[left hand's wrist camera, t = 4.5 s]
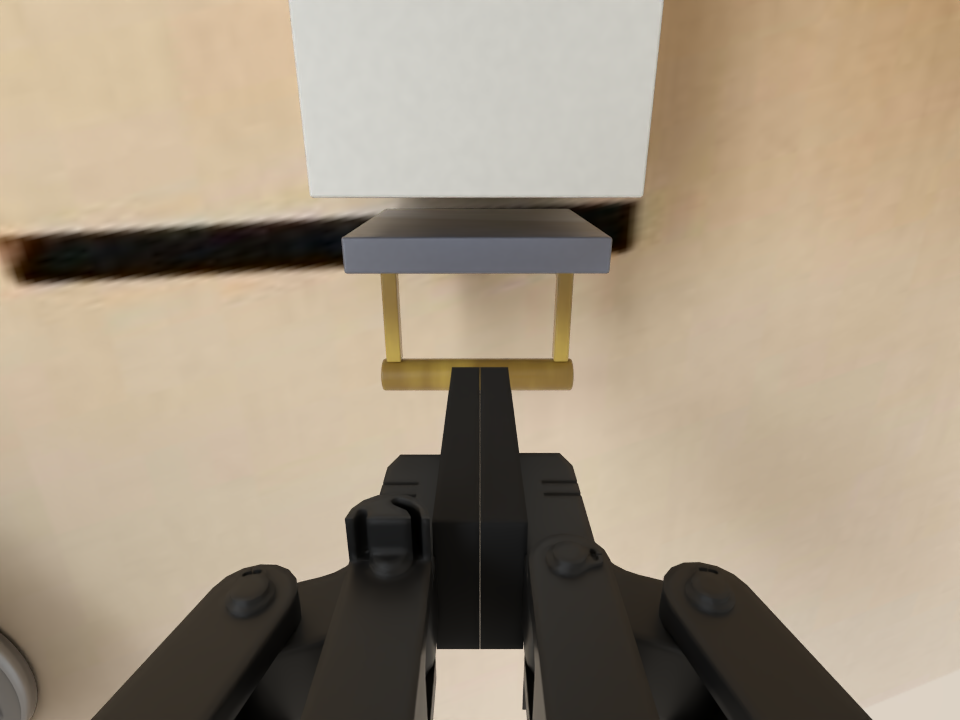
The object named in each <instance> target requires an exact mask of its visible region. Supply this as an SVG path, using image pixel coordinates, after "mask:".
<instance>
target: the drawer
mask: <svg viewBox="0 0 960 720" xmlns="http://www.w3.org/2000/svg"><path fill="white" fill-rule="evenodd" d="M611 248H612V238H611V237H610V236H608V235H607V234H605V233H604V232H602V231H601V230H599V229H598V228H596V227H595V226H593V225H592V224H590V223H589V222H587V221H586V220H584V219H583V218H581V217H580V216H579V215H577V214H576V213H574V212H573V211H571V210H570V209H385V210H384V211H382V212H381V213H379V214H378V215H376V216H375V217H373V218H372V219H370V220H369V221H367V222H366V223H364V224H362V225H361V226H359V227H358V228H356V229H355V230H353V231H352V232H350V233H349V234H347V235H346V236H344V237H343V238H342V250H343V261H344V271H345V273H347V274H381V286H382V301H383V316H384V330H385V345H386V359H384V360H383V363H382V369H381V380H382V387H383V389H384V390H449V386H450V378H451V370H452V367H508V370H509V378H510V386H511V390H571V389H572V386H573V363H572V360H571V359H569V358H568V355H569V339H570V323H571V308H572V292H573V276H574V273H609V270H610V259H611ZM468 273H557V275H556V294H555V313H554V332H553V352H552V357H553V358H552V359H402V357H403V354H402V336H401V318H400V301H399V283H398V274H468Z"/></svg>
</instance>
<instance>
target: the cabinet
mask: <svg viewBox="0 0 960 720" xmlns="http://www.w3.org/2000/svg"><path fill="white" fill-rule="evenodd" d="M663 4H664V0H289V9H290V18H291V27H292V36H293V45H294V55H295V64H296V73H297V82H298V91H299V100H300V109H301V118H302V127H303V136H304V145H305V155H306V164H307V173H308V182H309V191H310V196H311V197H313V198H640V197H642V196H643V194H644V184H645V175H646V165H647V156H648V146H649V137H650V127H651V118H652V108H653V99H654V90H655V80H656V71H657V61H658V52H659V42H660V33H661V23H662V14H663Z"/></svg>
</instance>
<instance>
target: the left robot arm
mask: <svg viewBox="0 0 960 720" xmlns="http://www.w3.org/2000/svg"><path fill="white" fill-rule="evenodd" d="M345 524H346V533H347V542H348V551H349V560H350V561H349V564H348V565H347V566H346V567H344V568H342V569H340V570H339V571H337V572H335V573H332V574H329V575H326V576H323V577H319V578H315V579H311V580H307V581H303V582H299V583H297V580H296V578H295V576H294V575H293V574H292V573H291V572H290V570H288V569H286V568H283V567H281V566H278V565H263V564H261V565H256V566H252V567H248V568H243V569H241V570H239V571H237V572H235V573H233V574H231V575H229V576H227V577H226V578H224V579H223V580H222V581H221V582H220V583H218V584H217V585H216V586H215V587H213V588H212V589H211V591H210V592H209V593H208V594H207V595H206V596H205V597H204V598H203V599H202V600H201V601H200V602H199V604H198V605H197V606H196V607H195V608H194V609H193V610H192V611H191V612H190V613H189V614H188V615H187V617H186V618H185V619H184V620H183V621H182V622H181V623H180V624H179V625H178V626H177V627H176V628H175V629H174V631H173V632H172V633H171V634H170V635H169V636H168V637H167V638H166V639H165V640H164V641H163V642H162V644H161V645H160V646H159V647H158V648H157V649H156V650H155V651H154V652H153V653H152V654H151V655H150V657H149V658H148V659H147V660H146V661H145V662H144V663H143V664H142V665H141V666H140V667H139V668H138V669H137V671H136V672H135V673H134V674H133V675H132V676H131V677H130V678H129V679H128V680H127V681H126V682H125V684H124V685H123V686H122V687H121V688H120V689H119V690H118V691H117V692H116V693H115V694H114V695H113V697H112V698H111V699H110V700H109V701H108V702H107V703H106V704H105V705H104V706H103V707H102V708H101V709H100V711H99V712H98V713H97V714H96V715H95V716H94V717H93V718H92V719H91V720H433V713H434V700H435V687H436V660H435V654H436V643H437V649H523V640H524V652H525V660H524V684H523V709H522V710H526V712H527V720H872V719H871V718H870V717H869V716H868V714H867V713H866V712H865V711H864V710H863V709H862V708H861V707H860V706H859V705H858V704H857V703H856V702H855V701H854V699H853V698H852V697H851V696H850V695H849V694H848V693H847V692H846V691H845V690H844V689H843V688H842V687H841V685H840V684H839V683H838V682H837V681H836V680H835V679H834V678H833V677H832V676H831V675H830V674H829V673H828V672H827V670H826V669H825V668H824V667H823V666H822V665H821V664H820V663H819V662H818V661H817V660H816V659H815V658H814V656H813V655H812V654H811V653H810V652H809V651H808V650H807V649H806V648H805V647H804V646H803V645H802V644H801V643H800V641H799V640H798V639H797V638H796V637H795V636H794V635H793V634H792V633H791V632H790V631H789V630H788V629H787V627H786V626H785V625H784V624H783V623H782V622H781V621H780V620H779V619H778V618H777V617H776V616H775V615H774V614H773V612H772V611H771V610H770V609H769V608H768V607H767V606H766V605H765V604H764V603H763V602H762V601H761V600H760V598H759V597H758V596H757V595H756V594H755V593H754V592H753V591H752V590H751V589H750V588H749V587H748V586H747V585H746V584H745V583H744V582H742V581H741V580H740V579H739V578H738V577H736V576H735V575H734V574H732V573H730V572H728V571H726V570H724V569H722V568H720V567H717V566H714V565H709V564H705V563H701V562H691V563H682V564H679V565H677V566H674V567H672V568H671V569H670V570H669V571H668V572H667V573H666V575H665V576H664V580H663V581H662V580H658V579H654V578H650V577H646V576H641V575H638V574H635V573H632V572H628V571H626V570H624V569H622V568H620V567H618V566H616V565H614V564H613V563H612V562H611V560H610V559H609V557H608V555H607V554H606V552H605V550H604V549H603V548H601V547H600V546H599V545H598V544H596V543H595V541H594V538H593V534H592V531H591V527H590V524H589V521H588V517H587V514H586V510H585V507H584V503H583V500H582V497H581V496H580V490H579V486H578V483H577V479H576V476H575V473H574V469H573V466H572V465H571V464H570V463H569V462H568V461H567V460H566V459H565V458H564V457H563V456H562V455H561V454H560V453H519V448H518V440H517V433H516V425H515V417H514V409H513V401H512V394H511V386H510V378H509V370H508V367H452V370H451V378H450V386H449V394H448V401H447V409H446V417H445V425H444V433H443V440H442V448H441V455H400V456H399V457H398V458H397V459H396V460H395V461H394V462H393V463H392V464H391V465H390V466H389V467H388V468H387V471H386V475H385V478H384V482H383V485H382V488H381V492H380V495H377V496H375V497H372V498H369V499H366V500H363V501H362V502H360V503H359V504H358V505H356V506H355V507H353V508H352V509H351V510H350V512H349V513H348V515H347V516H346V518H345ZM36 704H37V686H36V681H35V678H34V676H33V673H32V671H31V669H30V667H29V665H28V663H27V662H26V660H25V658H24V657H23V656H22V654H21V653H20V652H19V651H18V649H17V648H16V647H15V646H14V645H13V644H12V643H11V642H10V641H9V640H8V639H7V638H6V637H5V636H4V635H3V634H2V633H0V720H30V719H31V717H32V716H33V713H34V711H35V708H36Z"/></svg>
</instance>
